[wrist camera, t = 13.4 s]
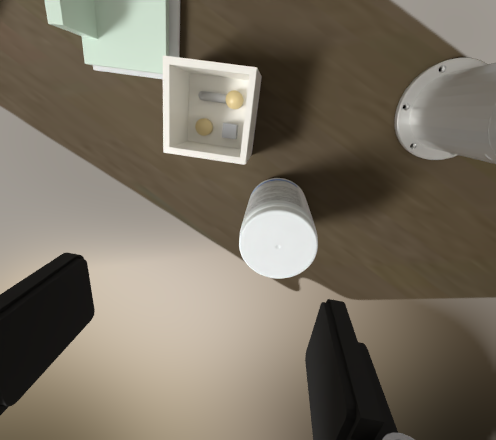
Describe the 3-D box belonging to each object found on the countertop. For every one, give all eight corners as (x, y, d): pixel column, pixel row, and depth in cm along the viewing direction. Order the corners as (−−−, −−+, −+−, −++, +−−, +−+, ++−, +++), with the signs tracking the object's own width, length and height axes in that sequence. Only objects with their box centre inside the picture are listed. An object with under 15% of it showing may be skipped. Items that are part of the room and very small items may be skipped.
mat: (180, -35, 32) (179, -37, 32) (179, 81, 37) (178, 81, 37) (83, -45, 33) (81, -47, 32) (95, 70, 38) (93, 69, 38)
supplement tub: (238, 202, 44) (219, 243, 30) (279, 164, 40) (278, 190, 27) (276, 239, 46) (275, 293, 32) (318, 205, 42) (336, 249, 29)
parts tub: (261, 76, 36) (257, 67, 29) (251, 155, 40) (245, 164, 33) (186, 66, 36) (162, 55, 29) (184, 145, 41) (163, 152, 34)
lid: (171, -31, 32) (139, -73, 25) (171, 75, 37) (144, 67, 29) (83, -40, 33) (26, -84, 25) (94, 65, 37) (49, 54, 30)
